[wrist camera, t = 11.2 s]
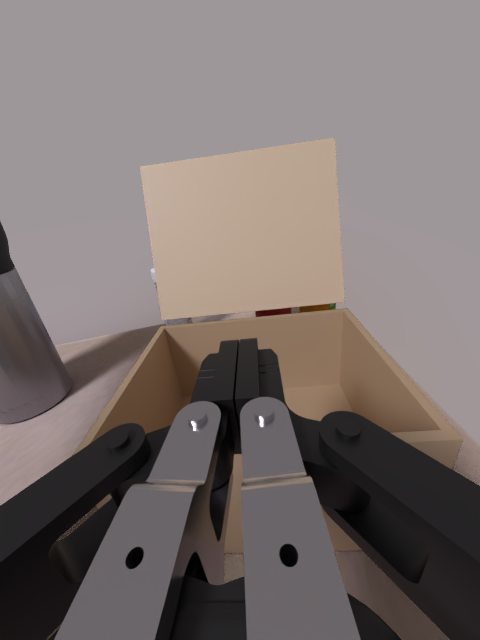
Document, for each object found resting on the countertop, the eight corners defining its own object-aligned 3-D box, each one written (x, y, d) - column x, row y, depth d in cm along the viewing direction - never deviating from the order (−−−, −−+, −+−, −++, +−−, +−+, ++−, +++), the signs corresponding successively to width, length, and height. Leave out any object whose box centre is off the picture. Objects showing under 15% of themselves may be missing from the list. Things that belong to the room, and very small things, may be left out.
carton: (424, 548, 17) (463, 439, 12) (125, 556, 18) (68, 461, 14) (342, 384, 31) (347, 308, 27) (180, 396, 33) (160, 326, 28)
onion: (279, 344, 41) (276, 297, 38) (251, 335, 45) (245, 292, 41) (297, 328, 45) (296, 284, 41) (270, 322, 48) (266, 281, 45)
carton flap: (334, 137, 25) (333, 141, 25) (139, 166, 26) (142, 169, 27) (344, 302, 27) (342, 301, 27) (161, 320, 28) (163, 319, 29)
